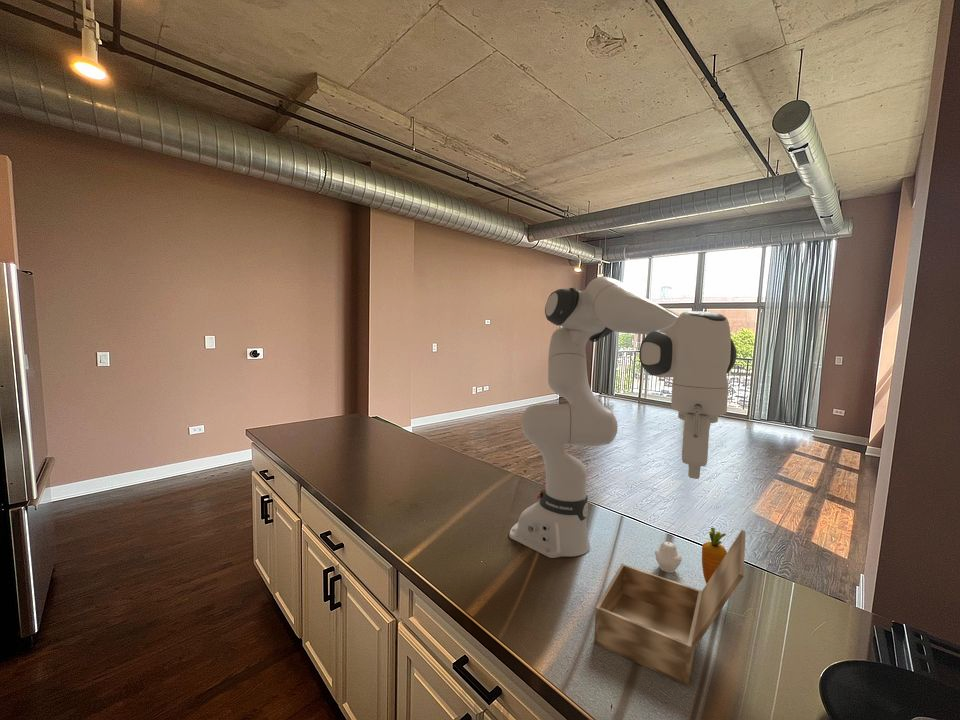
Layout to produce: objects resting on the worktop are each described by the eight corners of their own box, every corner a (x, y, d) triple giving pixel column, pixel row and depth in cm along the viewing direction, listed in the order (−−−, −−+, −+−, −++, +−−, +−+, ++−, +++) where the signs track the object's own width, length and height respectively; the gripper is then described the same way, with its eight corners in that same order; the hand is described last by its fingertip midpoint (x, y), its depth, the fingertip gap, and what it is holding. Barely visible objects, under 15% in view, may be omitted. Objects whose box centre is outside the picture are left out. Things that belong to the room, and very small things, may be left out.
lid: (739, 573, 62) (744, 576, 61) (742, 529, 76) (746, 532, 76) (691, 644, 66) (695, 647, 66) (702, 590, 80) (706, 592, 80)
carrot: (701, 583, 95) (705, 521, 94) (726, 592, 92) (730, 528, 91) (697, 593, 91) (701, 529, 90) (722, 603, 88) (726, 537, 87)
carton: (593, 643, 75) (595, 607, 75) (620, 593, 90) (621, 563, 90) (688, 687, 66) (691, 646, 66) (700, 624, 81) (702, 590, 81)
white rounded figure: (649, 568, 100) (651, 541, 100) (659, 559, 104) (661, 533, 104) (675, 579, 96) (677, 551, 95) (684, 569, 100) (686, 543, 100)
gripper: (720, 412, 61) (714, 500, 62) (717, 395, 79) (713, 464, 80) (675, 407, 64) (670, 491, 65) (682, 392, 82) (678, 458, 83)
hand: (693, 476), depth 73 cm, fingers closed
